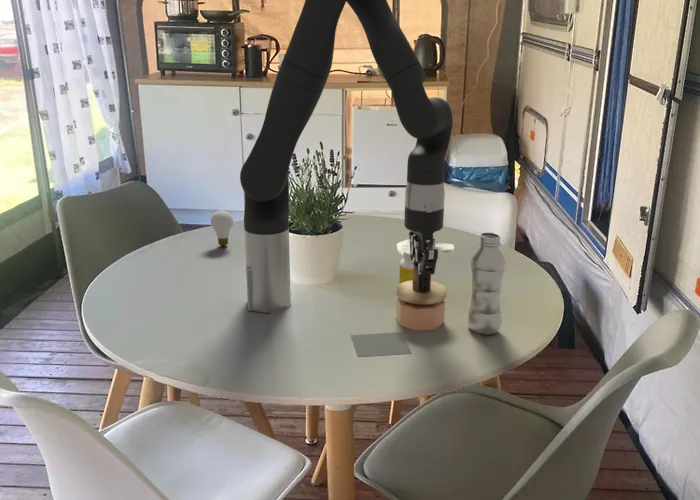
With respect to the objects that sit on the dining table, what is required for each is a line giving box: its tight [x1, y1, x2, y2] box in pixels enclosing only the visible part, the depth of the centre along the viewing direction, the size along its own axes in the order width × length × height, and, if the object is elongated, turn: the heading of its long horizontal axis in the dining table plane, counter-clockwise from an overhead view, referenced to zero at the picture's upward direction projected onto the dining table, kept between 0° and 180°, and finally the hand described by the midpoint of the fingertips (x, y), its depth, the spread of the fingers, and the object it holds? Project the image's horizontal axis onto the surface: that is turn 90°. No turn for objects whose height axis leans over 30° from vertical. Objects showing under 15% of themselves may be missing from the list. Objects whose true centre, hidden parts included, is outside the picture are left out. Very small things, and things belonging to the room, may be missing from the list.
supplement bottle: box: [398, 249, 416, 285], centre depth 153 cm, size 5×5×10 cm
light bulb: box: [210, 210, 234, 248], centre depth 183 cm, size 6×6×10 cm
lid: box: [395, 266, 448, 304], centre depth 136 cm, size 10×10×6 cm
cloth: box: [396, 238, 456, 258], centre depth 181 cm, size 20×22×2 cm
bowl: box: [395, 296, 446, 331], centre depth 138 cm, size 9×9×5 cm
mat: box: [350, 331, 412, 358], centre depth 128 cm, size 10×9×1 cm
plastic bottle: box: [466, 232, 506, 336], centre depth 132 cm, size 6×7×20 cm
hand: (421, 287), depth 136 cm, fingers closed on lid, 3 cm apart
